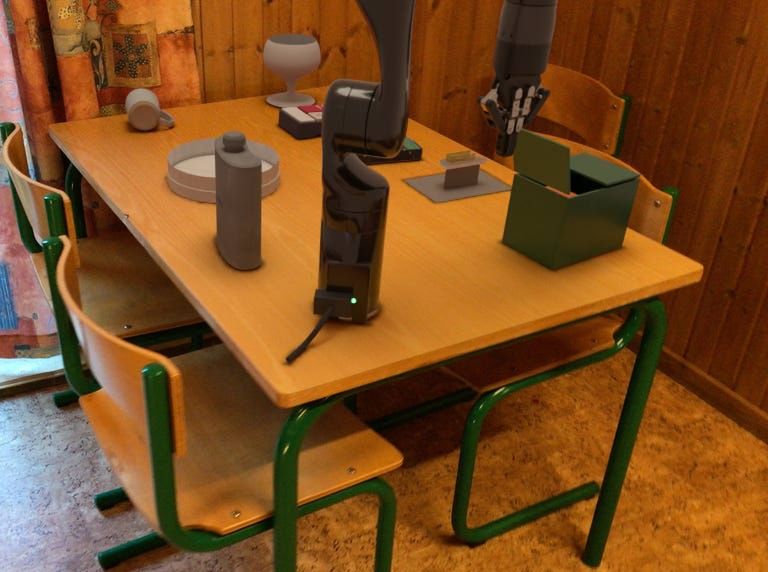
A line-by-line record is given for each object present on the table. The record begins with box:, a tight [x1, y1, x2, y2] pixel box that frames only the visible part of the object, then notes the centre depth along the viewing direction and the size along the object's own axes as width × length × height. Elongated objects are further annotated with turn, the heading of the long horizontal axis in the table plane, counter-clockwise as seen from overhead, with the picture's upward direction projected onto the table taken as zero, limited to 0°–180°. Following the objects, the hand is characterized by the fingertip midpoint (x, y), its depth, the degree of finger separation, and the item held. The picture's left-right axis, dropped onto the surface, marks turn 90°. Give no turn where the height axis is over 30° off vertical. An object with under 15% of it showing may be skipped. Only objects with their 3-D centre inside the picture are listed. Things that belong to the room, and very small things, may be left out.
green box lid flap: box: [512, 127, 571, 195], centre depth 132 cm, size 8×12×1 cm
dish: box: [166, 137, 281, 204], centre depth 165 cm, size 22×22×5 cm
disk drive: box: [356, 133, 424, 165], centre depth 180 cm, size 10×3×15 cm
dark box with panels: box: [277, 104, 323, 140], centre depth 193 cm, size 11×4×15 cm
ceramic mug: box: [124, 87, 175, 132], centre depth 190 cm, size 11×8×8 cm
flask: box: [215, 130, 263, 271], centre depth 136 cm, size 15×6×20 cm, turn 15°
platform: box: [403, 149, 512, 204], centre depth 166 cm, size 12×18×7 cm, turn 115°
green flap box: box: [501, 152, 642, 271], centre depth 142 cm, size 17×12×13 cm
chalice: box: [262, 33, 322, 108], centre depth 206 cm, size 14×14×15 cm
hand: (504, 155), depth 127 cm, fingers closed
